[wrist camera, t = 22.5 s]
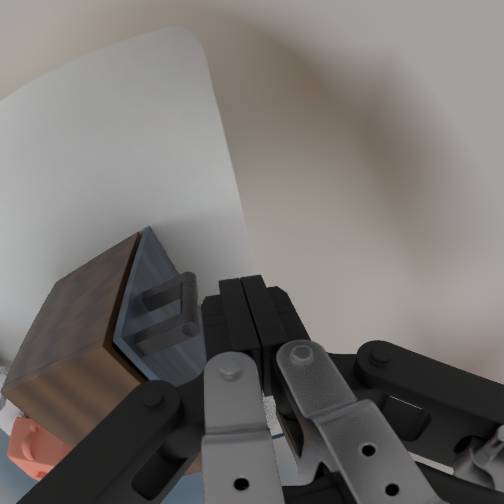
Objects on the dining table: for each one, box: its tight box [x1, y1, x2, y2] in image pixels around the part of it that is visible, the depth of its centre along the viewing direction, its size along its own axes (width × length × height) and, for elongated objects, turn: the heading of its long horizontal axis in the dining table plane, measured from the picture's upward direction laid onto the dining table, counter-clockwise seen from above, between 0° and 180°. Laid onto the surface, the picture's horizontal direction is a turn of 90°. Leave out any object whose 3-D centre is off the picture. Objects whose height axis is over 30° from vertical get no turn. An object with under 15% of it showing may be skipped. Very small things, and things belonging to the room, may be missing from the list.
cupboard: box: [0, 232, 202, 476], centre depth 38 cm, size 18×26×24 cm
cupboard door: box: [113, 226, 206, 387], centre depth 38 cm, size 7×26×24 cm, turn 23°
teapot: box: [7, 417, 73, 481], centre depth 53 cm, size 25×23×18 cm
